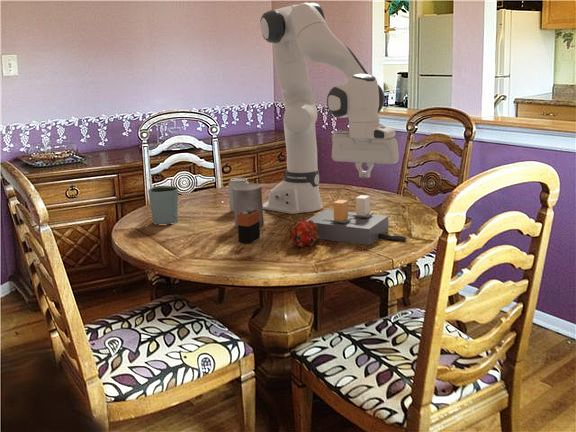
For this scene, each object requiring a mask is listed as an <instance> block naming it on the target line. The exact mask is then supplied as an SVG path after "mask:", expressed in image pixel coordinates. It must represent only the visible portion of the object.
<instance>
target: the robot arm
mask: <svg viewBox="0 0 576 432" xmlns="http://www.w3.org/2000/svg"><path fill="white" fill-rule="evenodd" d="M325 18H326V17H325V13H324V10H323V8H322V7H321V6H320V4H319V3H315V2H303V3H297V4H290V5H288V6H283V7H280V8H277V9H270V10H268V11H265V12H264V13H262V15H261V18H260V22H259V24H260V32H261V35H262V37H263V39H264V40H265V41H266V42H268V43H271V44H272V53H273V54H272V55H273V61H274V67H275V73H276V77H277V82H278V87H279V89H280V90H279V91H280V92H281V96H282V100H283V103H284V107H285V111H284V114H283V131H284V139H285V147H286V148H285V150H286V168H287V169H286V170H284V171H283V172H281V173H280V174H281V175H280V176H281V177H283V178H282V181H280V182H279V183H278V184H277V185H276V186H274V187H273V188H272V189H271V190H270V191H269V194H268V201H266V202H263V203H262V205H263V210H268V211H275V212H279V213H284V214H289V215H290V214H291V215H292V214H299V213H300V214H301V213H311V212H315V211H320V210H322V209H323V207H324V206H323V203H322V199H321V195H320V187H319V185H320V171H319V169H318V144H317V132H316V130H317V129H316V122H317V120H318V109H317V105H316V101H315V95H314V92H313V88H312V84H311V80H310V79H311V78H310V74H309V73H310V72H309V68H308V63H307V60H308V61H309V62H310V61H311V62H313V63H316V64H321V65H327V66H330V67H333V68H336V69H338V70H340V71H341V72H342V73H343V74H344V75H345V77H346V78H347V79H348V80H347V81H345V82H343V83H342V84H338V85H336V86H334V87H332V88H331V89H330V90H329V92H328V93H327V97H326V106H327V110H328V112H329V113H330V114H331V115H332V116H333V117H334V118H340V119H342V118H343V119H344V118H345V119H346V118H349V119H348V130H340V129H338V130H336V131H334V132H333V133H332V135H331V142H332V147H331V148H332V149H331V158H332V160H333V162H344V163H355V168H356V170H357V171H358V176H359V178H365V179H366V178H367V179H369V178H371V171H373V168H374V167H375V164H377V165H379V164H381V165H394V164H396V163H397V162H398V161H399V158H400V155H399V154H400V152H399V143H398V140H397V139H396V138H395V136H396V134H397V133H396V130H395V129H394V128H392V127H389V126H387V125H383V124H381V123H380V117H379V113H380V112H381V110H383V107H384V104H385V101H386V98H385V92H384V90H383V88H382V87H381V86H380V84H379V83H378V80H377V78H376V77H375V76H374V75H371V74H369V73H368V72H367V71H366V68H364V66H363V65H362V63H361V61H359V59H358V57H357V56H356V55H355V53H354V52H353V50H352V49H350V48H349V47H348V45H346V44H345V43H343V42H342V41H341V40H339V39H338V38H337V36H336V35H335V34H334V32H332V31H331V29H330V28H329V27H330V26H329V25H328V23H327V22H326V19H325ZM363 163H365V164H366V167H368V168H367V170H364V169H363V167H362V166H363Z"/></svg>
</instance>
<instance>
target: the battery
mask: <svg viewBox="0 0 576 432" xmlns="http://www.w3.org/2000/svg"><path fill="white" fill-rule="evenodd" d="M237 224H238V228H237V236H238V237H237V238H238V243H241V244H247V245H251V244H252V243H253V242H256V241H258V240H259V239H260V238H261V227H260V222H259V211H258V210H254V208H248V210H246V211H242V213H239V214H238V215H237Z"/></svg>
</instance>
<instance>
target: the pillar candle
mask: <svg viewBox="0 0 576 432" xmlns="http://www.w3.org/2000/svg"><path fill="white" fill-rule="evenodd" d="M248 182H249V181H248ZM248 182H247V183H245V184H238V185H235V186H233V201H234V212H233V213H234V214H233V215H234V225H235V226H234V227H235V228H236V229H238V224H237V215H238V214H239V213H242V211H246V210H248V208H254V210H258V211H259V222H260V228H262V227H263V226H264V224H265V223H264V221H265V220H264V219H265V218H264V209H263V193H262V192H263V191H262V190H263V189H262V184H261V183H260V184H259V183H254V182H253V183H252V182H249V183H248Z"/></svg>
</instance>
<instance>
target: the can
mask: <svg viewBox="0 0 576 432" xmlns="http://www.w3.org/2000/svg"><path fill="white" fill-rule="evenodd" d="M247 182H248V183H250V182H249V181H248V178H246V177H233V178H231V179H230V180H229V183H228V196H229V197H228V198H229V200H228V201H229V210H230V211H231V212H232V211H233V212H232V213H234V201H233V186H235V185H238V184H245V183H247Z"/></svg>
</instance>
